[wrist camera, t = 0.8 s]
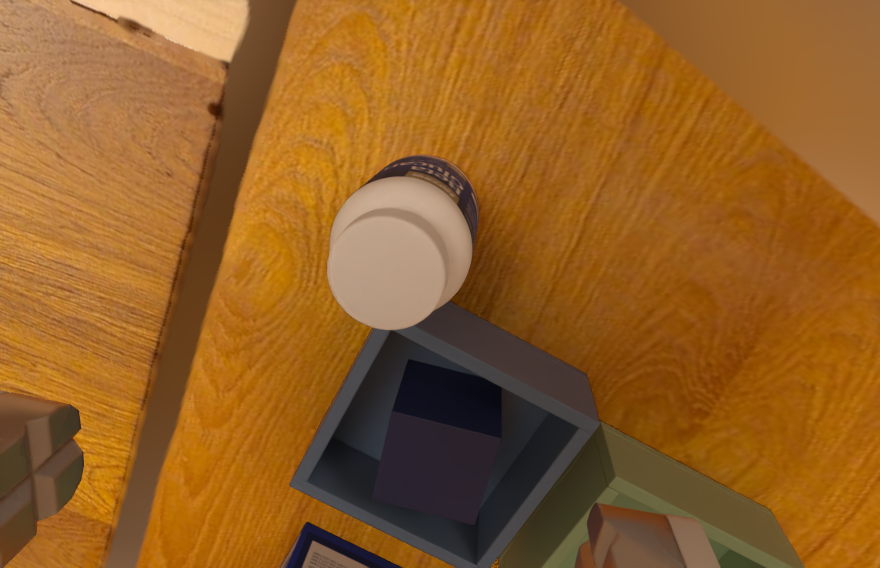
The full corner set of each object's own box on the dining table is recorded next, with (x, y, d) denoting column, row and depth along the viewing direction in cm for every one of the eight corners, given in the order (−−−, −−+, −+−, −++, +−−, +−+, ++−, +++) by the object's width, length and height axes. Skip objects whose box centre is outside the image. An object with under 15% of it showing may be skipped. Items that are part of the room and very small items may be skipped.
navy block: (408, 358, 31) (391, 411, 26) (502, 382, 31) (502, 438, 26) (389, 436, 32) (370, 499, 28) (478, 459, 32) (474, 525, 28)
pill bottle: (481, 154, 27) (471, 198, 18) (477, 264, 29) (466, 355, 20) (366, 150, 28) (300, 191, 19) (369, 259, 30) (310, 346, 20)
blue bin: (400, 274, 30) (383, 310, 25) (587, 373, 31) (601, 423, 26) (315, 432, 33) (288, 486, 29) (483, 516, 34) (481, 580, 30)
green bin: (600, 420, 31) (615, 476, 27) (770, 509, 32) (812, 577, 28) (497, 554, 35) (497, 622, 31) (653, 630, 36) (673, 707, 32)
